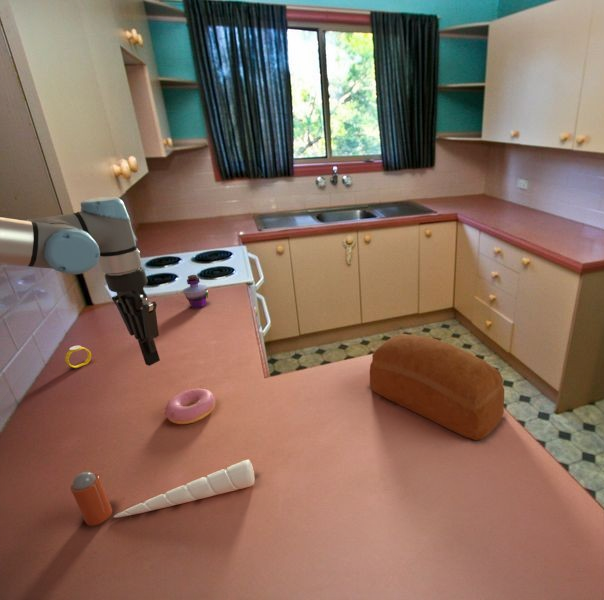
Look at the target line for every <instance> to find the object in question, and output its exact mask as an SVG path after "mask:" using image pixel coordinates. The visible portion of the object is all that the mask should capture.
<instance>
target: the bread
mask: <svg viewBox="0 0 604 600" xmlns="http://www.w3.org/2000/svg"><path fill="white" fill-rule="evenodd" d="M503 383H504V379H503V376H502V375H501V373H500V370H498V369H497V368H495V367H494V366H493V365H491V364H490V363H488V362H487V361H485V360H483V359H482V358H480V357H478V356H476V355H474V354H472V353H470V352H468V351H466V350H464V349H462V348H460V347H457V346H456V345H453V344H450V343H448V342H447V341H442V340H440V339H437V338H434V337H428V336H423V335H417V334H410V333H409V334H408V333H400V334H396V335H393V336H392V337H390V338H388V339H387V340H385V341H384V342H383V343H382V344H381V345H380V346H378V347H377V348H376V349H375V350H374V351H373V353H372V361H371V363H370V365H369V386H370V390H371V391H373V393H376V394H378V395H379V396H381V397H383V398H385V399H387V400H388V401H391V402H393V403H395V404H396V405H398V406H401V407H403V408H405V409H407V410H410V411H411V412H414V413H415V414H417V415H420V416H422V417H424V418H427V419H428V420H430V421H432V422H433V423H436V424H438V425H439V426H442V427H444V428H446V429H448V430H450V431H452V432H455V433H457V434H459V435H461V436H463V437H465V438H468V439H471V440H474V441H478V440H482V439H484V438H486V437H487V436H488V435H490V434H491V432H493V431H494V430H495V428H496V427H497V426H498V425H499V424H500V422H501V420H502V418H503V415H504V411H505V410H504V409H505V388H504V386H503Z"/></svg>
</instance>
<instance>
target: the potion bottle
mask: <svg viewBox="0 0 604 600" xmlns="http://www.w3.org/2000/svg"><path fill="white" fill-rule="evenodd" d="M186 283H187V285H189V286H187V287H185V288H183V289H182V291H183V294H184V296H185V298H186V300H188V301H187V302H188V303H189V305H190V307H191V308H194V309H198V308H199V309H200V308H203V307H205V306H207V299H208V298H209V291H208V286H207V285H206V284H199V283H201V281H200V277H198V276H197V274H190V275H187V279H186Z"/></svg>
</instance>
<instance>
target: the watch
mask: <svg viewBox="0 0 604 600" xmlns="http://www.w3.org/2000/svg"><path fill="white" fill-rule="evenodd" d="M81 350H84V351H85V352H86V355H87V356H86V359H85V361H84V362H82V363H79V364H76V365H72V364H71V362H70V360H69V359H70V357H71V355H72V354H73V353H76V352H79V351H81ZM91 359H92V353H91V351H90V349H88V348H87V347H84V346H82V345H80V344H79V345H74V346H71V347H69V350H68V351H67V353H66V354H65V357H64V362H65V364H66V365H67V366H68V367H70V368H73V369H78V368H81V367H84V366H86V365H88V364H89V362H90V361H91Z"/></svg>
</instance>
